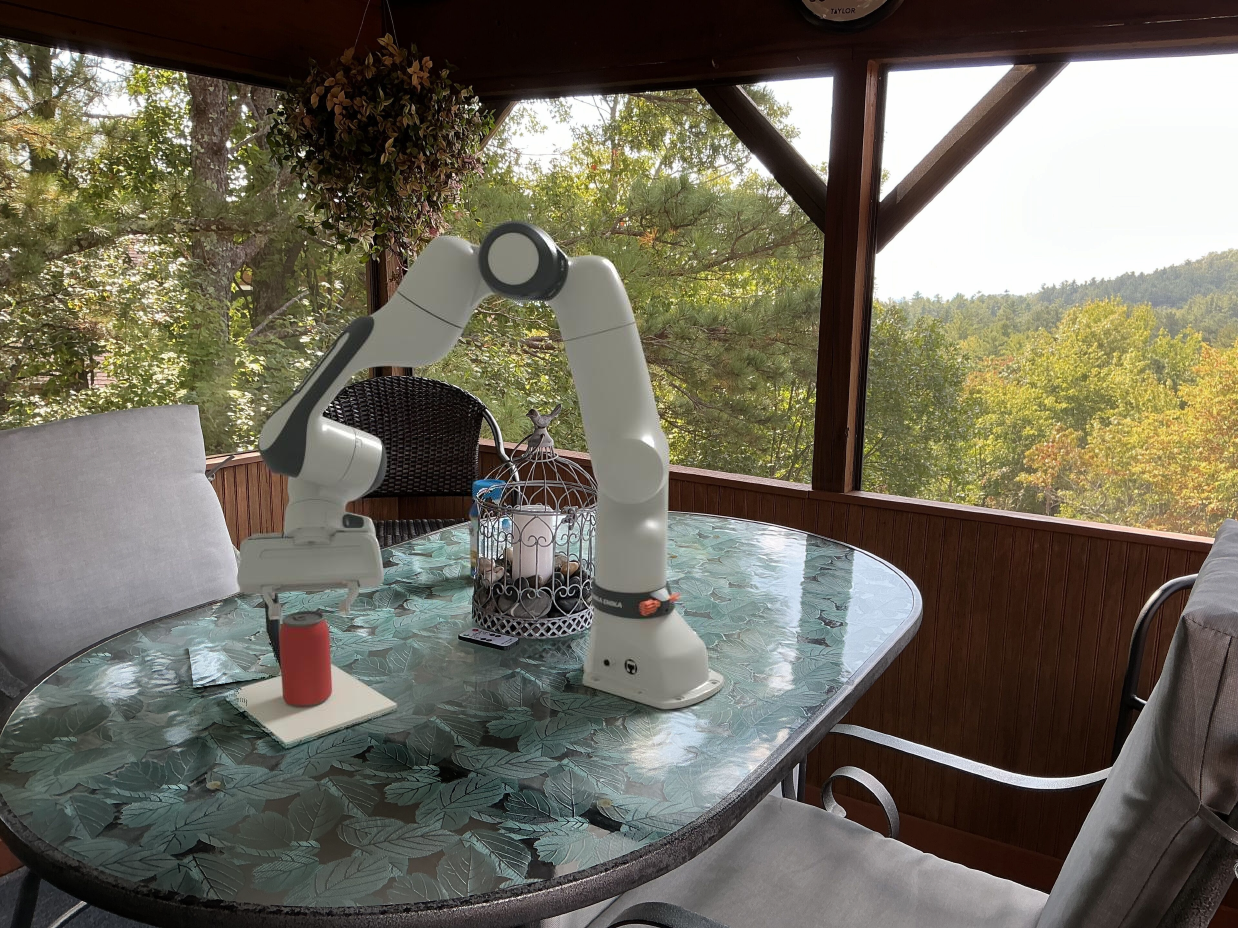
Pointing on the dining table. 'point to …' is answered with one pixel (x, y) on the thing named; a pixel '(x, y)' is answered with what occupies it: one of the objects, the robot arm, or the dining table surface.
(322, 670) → the beer can
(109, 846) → the dining table surface
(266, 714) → the ceramic tile
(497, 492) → the beverage bottle
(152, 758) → the dining table surface
